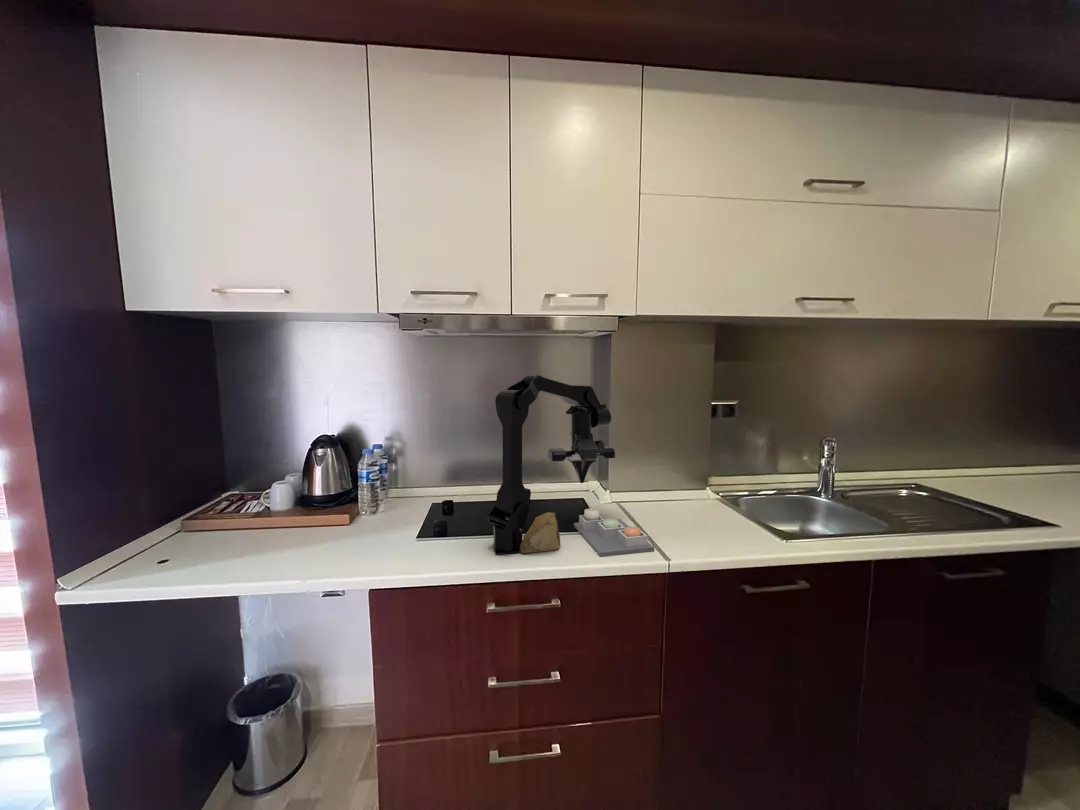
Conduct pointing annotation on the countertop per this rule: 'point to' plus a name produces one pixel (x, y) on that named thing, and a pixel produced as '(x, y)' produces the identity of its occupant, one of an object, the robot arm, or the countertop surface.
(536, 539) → the rock
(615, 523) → the sage button
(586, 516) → the cream button
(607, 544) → the panel
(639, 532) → the terracotta button
